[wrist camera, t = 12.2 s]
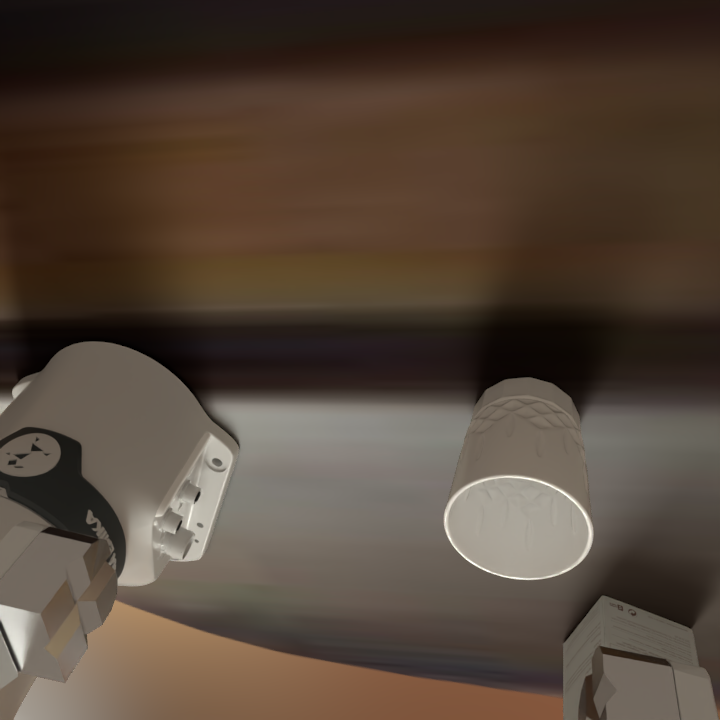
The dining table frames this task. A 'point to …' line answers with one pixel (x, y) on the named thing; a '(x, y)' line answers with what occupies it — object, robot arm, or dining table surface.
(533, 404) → the white cup
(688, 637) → the supplement box
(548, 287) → the dining table surface
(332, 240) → the dining table surface
